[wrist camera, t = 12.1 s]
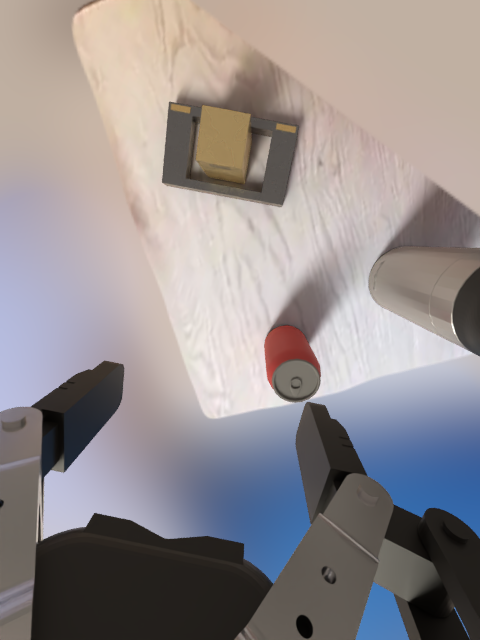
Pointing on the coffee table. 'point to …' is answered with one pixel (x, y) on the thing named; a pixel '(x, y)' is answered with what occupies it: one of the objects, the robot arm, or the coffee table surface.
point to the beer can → (291, 364)
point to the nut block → (224, 143)
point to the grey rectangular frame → (179, 176)
